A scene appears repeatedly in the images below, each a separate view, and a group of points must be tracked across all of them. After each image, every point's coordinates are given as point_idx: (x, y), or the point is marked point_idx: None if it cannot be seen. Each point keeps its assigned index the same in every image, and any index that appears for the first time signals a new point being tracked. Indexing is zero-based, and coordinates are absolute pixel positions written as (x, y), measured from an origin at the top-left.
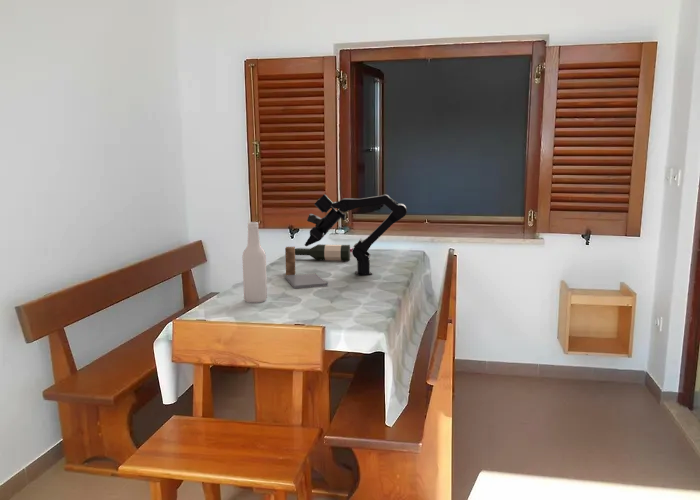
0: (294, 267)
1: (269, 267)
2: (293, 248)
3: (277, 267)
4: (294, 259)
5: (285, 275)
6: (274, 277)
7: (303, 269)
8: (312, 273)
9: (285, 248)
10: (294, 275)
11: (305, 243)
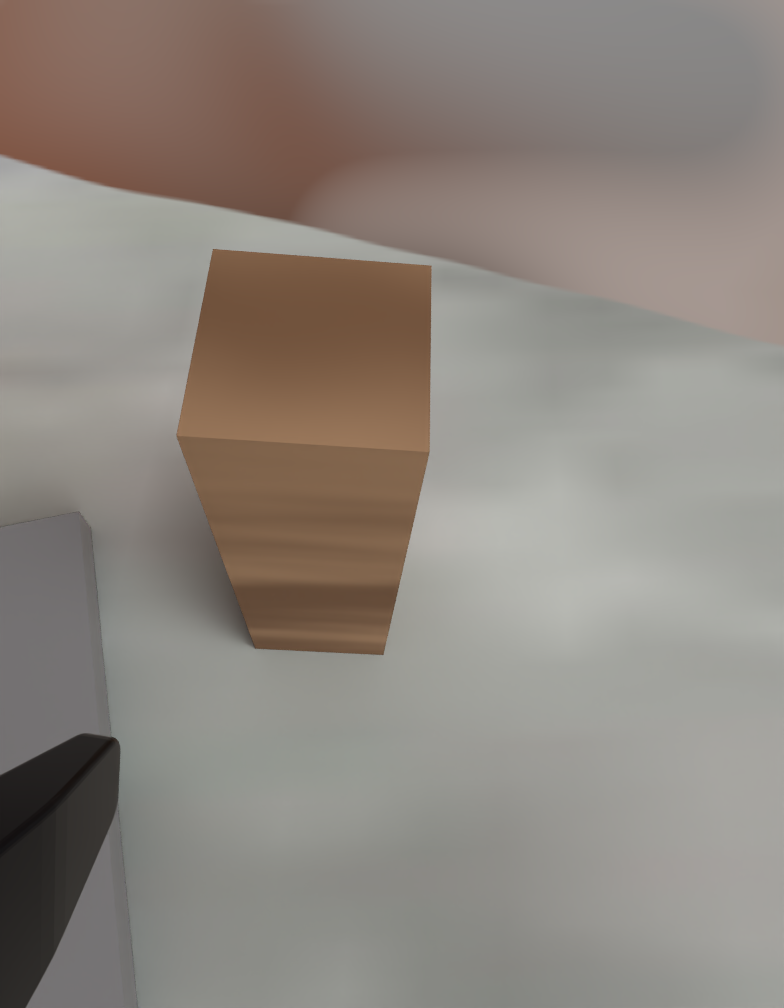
0: (242, 611)
1: (710, 340)
2: (181, 424)
3: (724, 420)
4: (244, 563)
5: (70, 516)
6: (158, 407)
7: (643, 772)
8: (113, 963)
9: (215, 257)
10: (36, 641)
11: (18, 766)
